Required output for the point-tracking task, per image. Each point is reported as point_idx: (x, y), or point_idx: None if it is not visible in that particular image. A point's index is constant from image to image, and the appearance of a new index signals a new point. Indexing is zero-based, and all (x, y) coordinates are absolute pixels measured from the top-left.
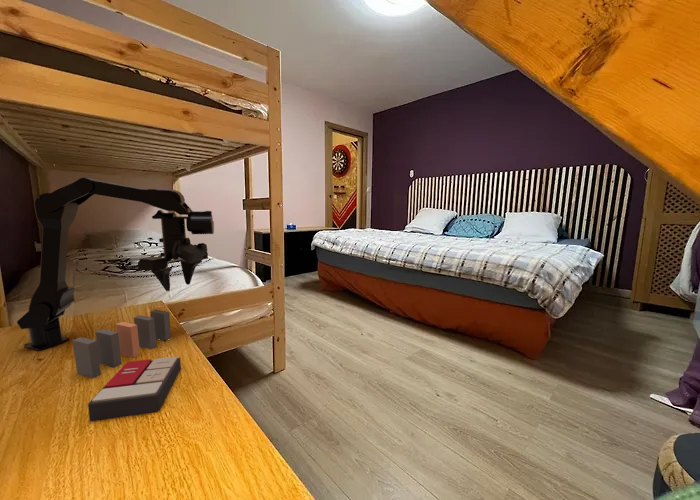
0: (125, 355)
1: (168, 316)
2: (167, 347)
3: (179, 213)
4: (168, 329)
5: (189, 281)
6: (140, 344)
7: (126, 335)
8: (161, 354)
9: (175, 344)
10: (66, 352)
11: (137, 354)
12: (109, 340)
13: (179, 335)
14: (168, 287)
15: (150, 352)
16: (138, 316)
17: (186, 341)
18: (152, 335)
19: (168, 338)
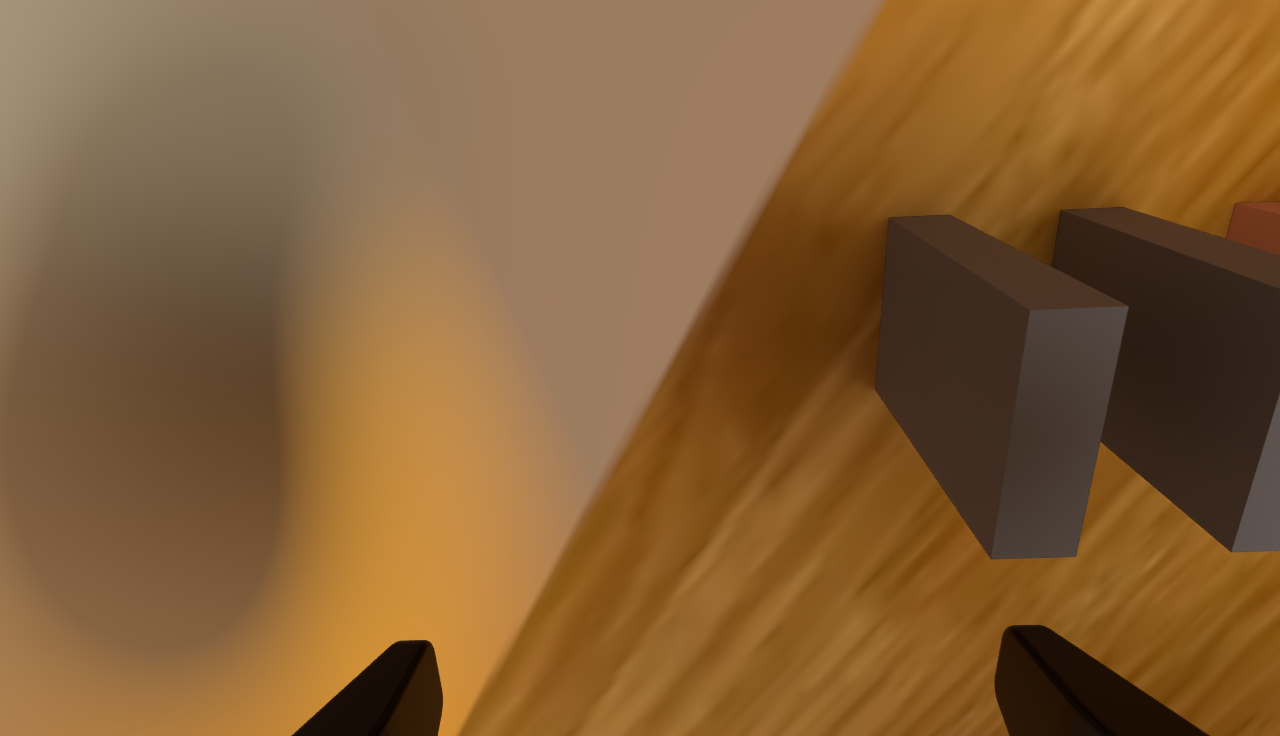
0: None
1: (1015, 289)
2: (1058, 84)
3: None
4: (957, 242)
5: (391, 686)
6: None
7: None
8: (1205, 2)
9: (980, 64)
10: (1266, 707)
11: (1272, 203)
12: None
13: (796, 210)
14: (1119, 681)
15: (1182, 150)
16: (1277, 529)
17: (889, 9)
18: (1181, 236)
19: (929, 218)
